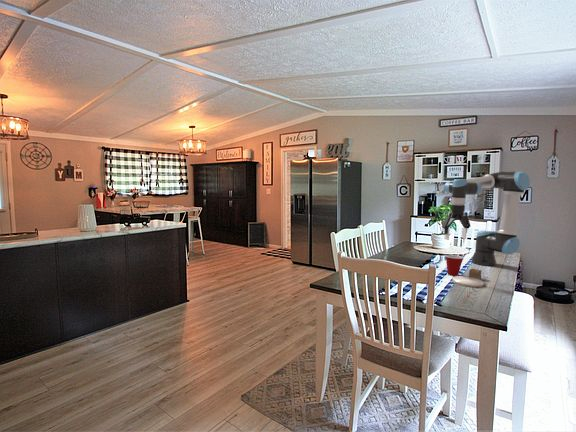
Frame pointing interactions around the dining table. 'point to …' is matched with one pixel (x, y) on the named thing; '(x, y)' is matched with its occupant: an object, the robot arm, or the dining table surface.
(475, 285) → the disc
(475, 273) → the walnut block
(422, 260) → the dining table surface
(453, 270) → the plastic cup
